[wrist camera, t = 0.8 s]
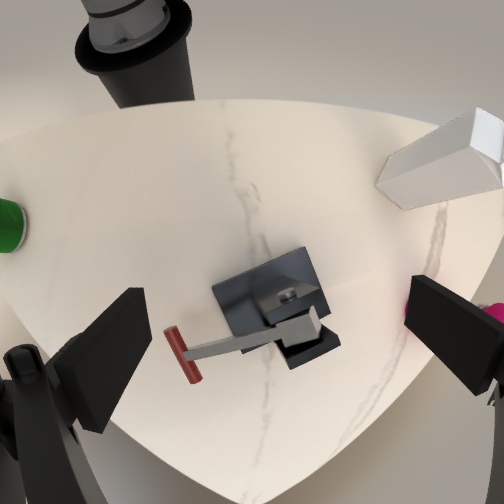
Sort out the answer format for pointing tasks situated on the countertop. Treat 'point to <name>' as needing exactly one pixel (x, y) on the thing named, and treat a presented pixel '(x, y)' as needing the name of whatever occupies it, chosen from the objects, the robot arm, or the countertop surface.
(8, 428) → the robot arm
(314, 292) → the black lever stand
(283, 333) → the lever
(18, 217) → the soda can
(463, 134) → the milk
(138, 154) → the countertop surface
